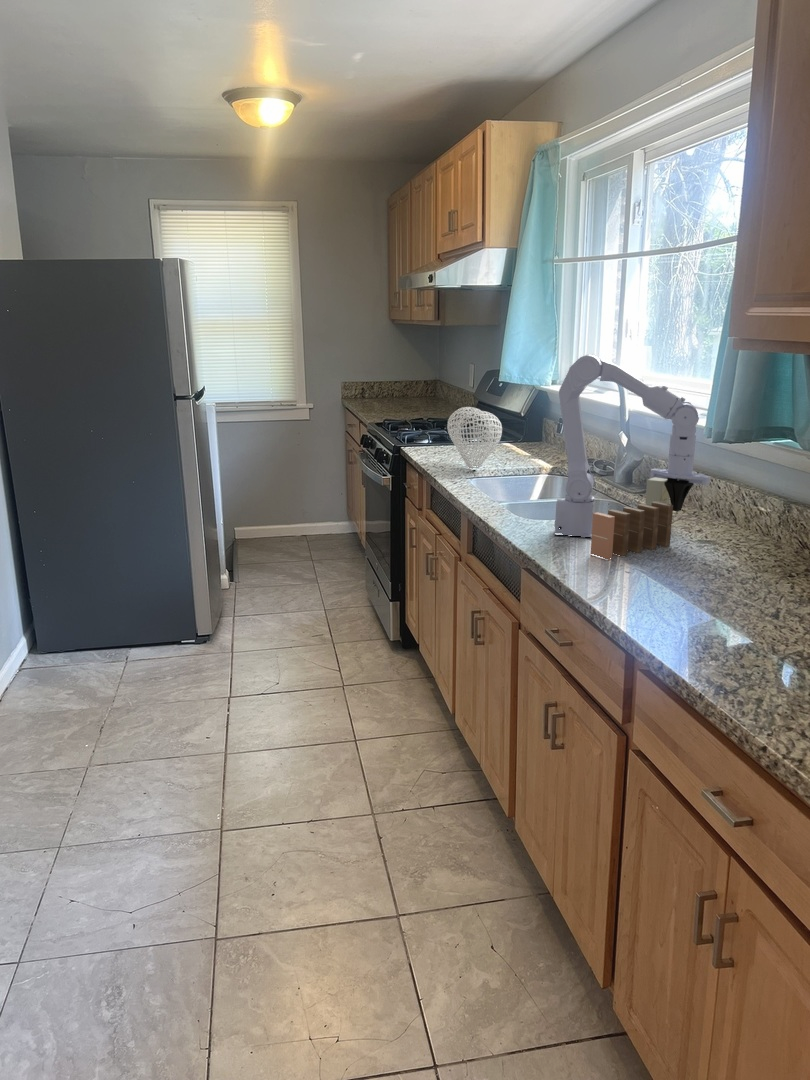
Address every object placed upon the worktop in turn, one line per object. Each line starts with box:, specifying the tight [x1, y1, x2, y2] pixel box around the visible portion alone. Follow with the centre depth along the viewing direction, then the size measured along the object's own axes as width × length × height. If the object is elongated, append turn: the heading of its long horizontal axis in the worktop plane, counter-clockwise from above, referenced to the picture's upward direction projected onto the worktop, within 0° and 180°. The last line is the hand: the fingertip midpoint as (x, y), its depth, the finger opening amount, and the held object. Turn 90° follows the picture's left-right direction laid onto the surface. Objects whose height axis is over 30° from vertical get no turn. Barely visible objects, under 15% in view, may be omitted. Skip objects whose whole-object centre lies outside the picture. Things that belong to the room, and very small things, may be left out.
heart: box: [446, 406, 503, 469], centre depth 284 cm, size 28×16×22 cm, turn 12°
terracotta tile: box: [590, 511, 615, 559], centre depth 179 cm, size 2×5×10 cm, turn 34°
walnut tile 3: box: [622, 506, 645, 554], centre depth 185 cm, size 2×5×10 cm, turn 34°
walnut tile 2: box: [636, 503, 659, 551], centre depth 188 cm, size 2×5×10 cm, turn 34°
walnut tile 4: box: [607, 509, 630, 557], centre depth 182 cm, size 2×5×10 cm, turn 34°
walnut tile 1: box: [651, 501, 674, 548], centre depth 190 cm, size 2×5×10 cm, turn 34°
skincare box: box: [644, 477, 670, 506], centre depth 209 cm, size 6×4×12 cm
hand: (676, 510), depth 192 cm, fingers closed
